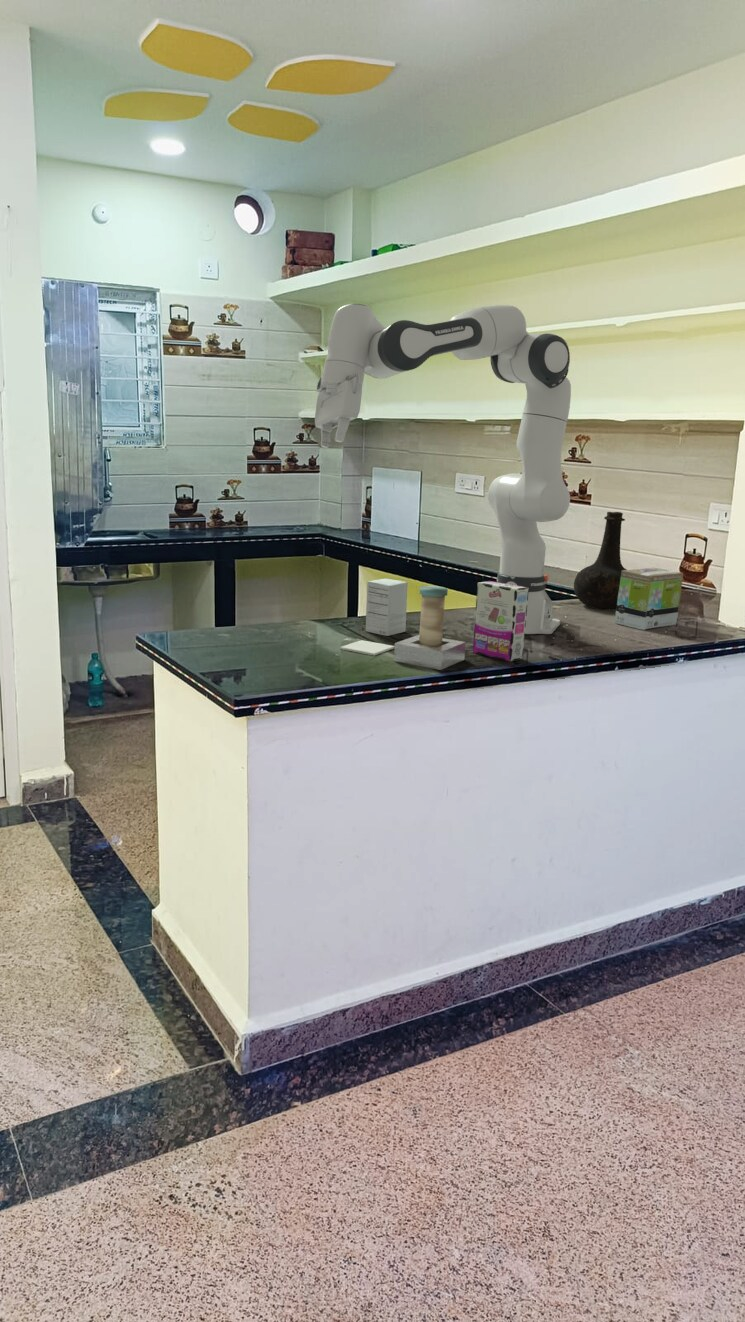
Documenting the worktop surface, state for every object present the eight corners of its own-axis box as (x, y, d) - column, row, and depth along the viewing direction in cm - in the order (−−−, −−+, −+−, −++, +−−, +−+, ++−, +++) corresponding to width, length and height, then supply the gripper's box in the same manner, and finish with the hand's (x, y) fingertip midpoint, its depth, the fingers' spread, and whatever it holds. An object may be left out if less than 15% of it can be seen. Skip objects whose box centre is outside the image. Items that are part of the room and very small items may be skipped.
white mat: (361, 642, 216) (361, 640, 216) (394, 648, 212) (394, 646, 211) (340, 649, 209) (340, 647, 208) (374, 655, 204) (374, 653, 204)
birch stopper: (423, 655, 206) (428, 584, 202) (447, 660, 203) (452, 588, 199) (410, 660, 201) (414, 588, 197) (435, 665, 198) (439, 592, 194)
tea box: (645, 631, 242) (651, 575, 238) (613, 623, 249) (619, 569, 245) (677, 625, 251) (684, 571, 247) (646, 618, 259) (652, 566, 255)
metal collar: (419, 651, 210) (420, 634, 209) (464, 659, 204) (465, 642, 203) (393, 661, 200) (394, 643, 199) (440, 670, 195) (441, 651, 194)
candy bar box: (524, 659, 207) (530, 587, 203) (510, 662, 203) (516, 589, 199) (485, 649, 214) (490, 579, 210) (471, 652, 211) (476, 581, 207)
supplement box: (383, 627, 233) (385, 577, 230) (406, 632, 229) (408, 581, 225) (364, 631, 227) (366, 580, 224) (387, 636, 223) (390, 585, 220)
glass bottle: (560, 605, 272) (569, 509, 265) (595, 599, 284) (604, 507, 277) (611, 616, 260) (622, 516, 253) (646, 609, 271) (657, 513, 264)
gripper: (373, 374, 190) (362, 441, 190) (340, 392, 209) (330, 453, 209) (344, 366, 187) (333, 434, 188) (314, 385, 206) (304, 446, 207)
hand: (331, 444), depth 199 cm, fingers open, 8 cm apart
